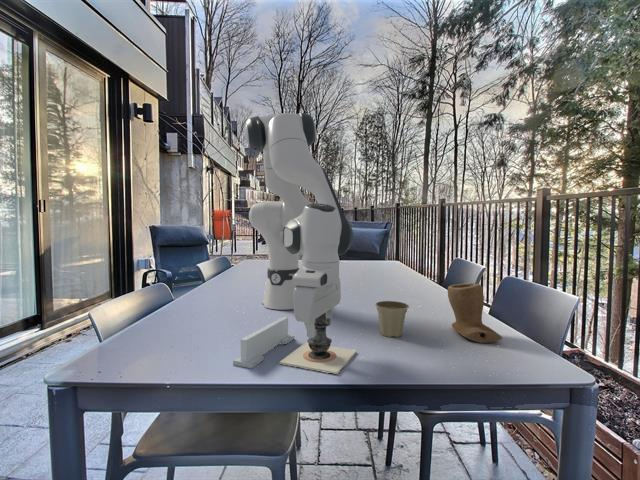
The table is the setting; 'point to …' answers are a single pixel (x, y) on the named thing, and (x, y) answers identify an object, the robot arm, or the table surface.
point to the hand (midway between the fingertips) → (319, 330)
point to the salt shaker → (320, 340)
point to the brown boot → (470, 312)
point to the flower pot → (391, 317)
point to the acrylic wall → (262, 343)
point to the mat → (331, 364)
